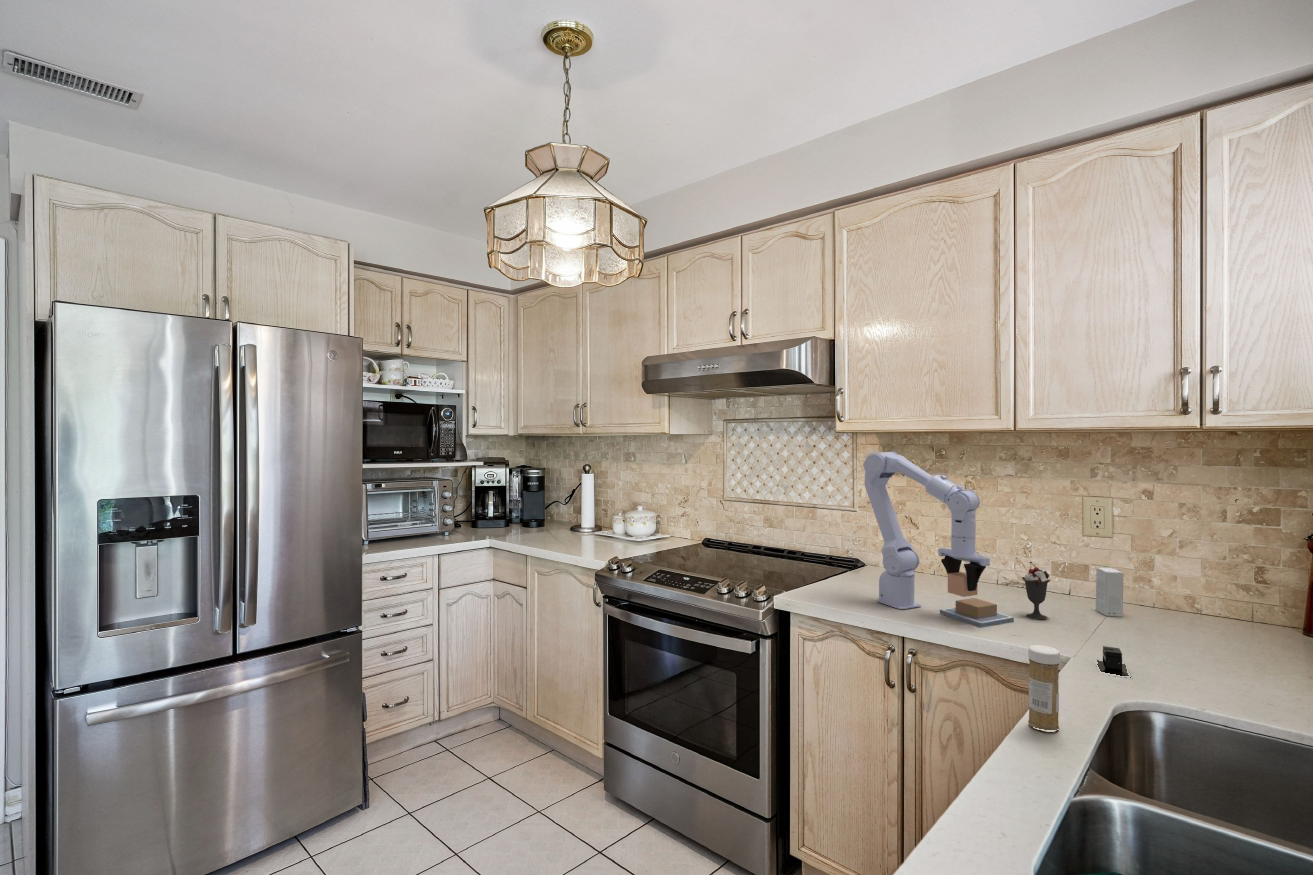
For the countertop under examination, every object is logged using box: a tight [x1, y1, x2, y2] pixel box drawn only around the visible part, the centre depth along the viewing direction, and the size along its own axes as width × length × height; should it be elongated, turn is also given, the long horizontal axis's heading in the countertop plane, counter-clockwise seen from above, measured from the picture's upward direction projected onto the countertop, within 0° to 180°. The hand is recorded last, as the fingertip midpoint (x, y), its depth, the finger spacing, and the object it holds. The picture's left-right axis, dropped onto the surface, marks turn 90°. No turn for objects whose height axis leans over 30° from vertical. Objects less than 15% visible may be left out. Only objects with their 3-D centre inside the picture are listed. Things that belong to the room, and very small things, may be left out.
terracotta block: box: [947, 571, 978, 598], centre depth 167 cm, size 5×5×5 cm
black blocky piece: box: [1096, 645, 1132, 678], centre depth 133 cm, size 12×7×5 cm, turn 151°
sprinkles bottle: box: [1027, 644, 1061, 730], centre depth 107 cm, size 5×5×14 cm
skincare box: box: [1095, 567, 1124, 618], centre depth 173 cm, size 6×4×12 cm
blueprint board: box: [939, 597, 1015, 628], centre depth 169 cm, size 13×12×4 cm
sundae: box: [1021, 561, 1051, 621], centre depth 169 cm, size 7×7×15 cm
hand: (962, 587), depth 167 cm, fingers closed on terracotta block, 5 cm apart
